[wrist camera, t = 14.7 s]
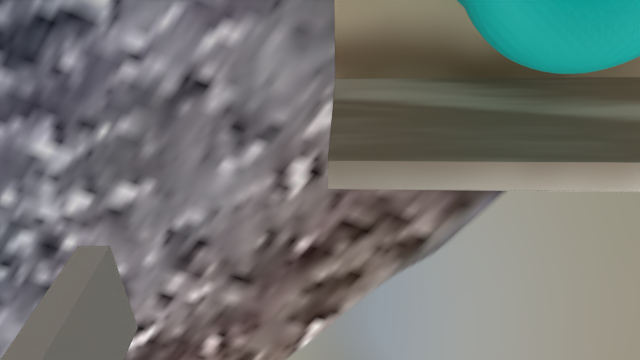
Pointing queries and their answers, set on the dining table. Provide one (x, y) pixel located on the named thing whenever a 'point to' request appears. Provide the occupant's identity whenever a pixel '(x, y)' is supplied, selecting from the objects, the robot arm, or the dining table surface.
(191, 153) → the dining table surface
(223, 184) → the dining table surface
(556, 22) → the donuts
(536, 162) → the display stand
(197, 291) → the dining table surface
